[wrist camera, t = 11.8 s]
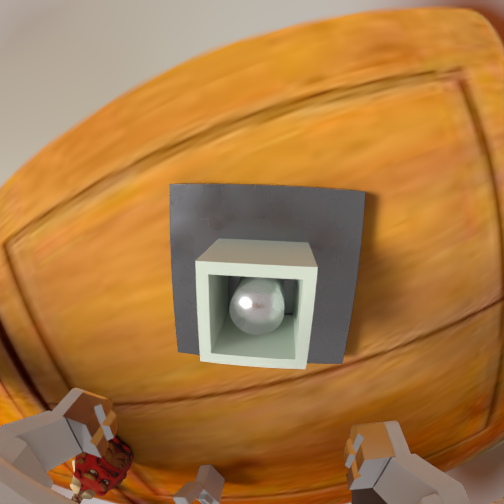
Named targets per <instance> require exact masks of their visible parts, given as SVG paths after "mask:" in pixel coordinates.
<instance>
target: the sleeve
mask: <svg viewBox="0 0 504 504" xmlns="http://www.w3.org/2000/svg"><path fill="white" fill-rule="evenodd" d="M195 267H196V295H197V316H198V334H199V349H200V361H203V362H211V363H220V364H230V365H241V366H253V367H268V368H286V369H306V365H307V358H308V350H309V343H310V335H311V327H312V319H313V310H314V301H315V291H316V281H317V270H318V267H317V264H316V261H315V258H314V256H313V253H312V250H311V248H310V245H309V243H308V242H288V241H267V240H245V239H222V238H219V239H217V240H216V241H215V242H214V243H213V244H212V245H211V246H210V247H209V248H208V249H207V250H206V251H205V252H204V253H203V254H202V255H201V256H200V257H199V258H198V259H197V260H196V261H195ZM228 276H244V277H262V278H281V279H296V288H295V301H294V313H293V315H284V317H283V320H282V322H281V323H280V325H279V326H278V327H277V328H276V329H275V330H273V331H272V332H270V333H267V334H263V335H253V334H249V333H246V332H244V331H242V330H241V329H239V328H238V327H237V326H236V325H235V324H234V322H233V321H232V319H231V316H230V312H229V311H228Z"/></svg>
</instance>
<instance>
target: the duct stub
mask: <svg viewBox="0 0 504 504" xmlns="http://www.w3.org/2000/svg"><path fill="white" fill-rule="evenodd" d="M364 205H365V191H358V190H347V189H334V188H320V187H304V186H285V185H260V184H170V244H171V268H172V285H173V300H174V313H175V325H176V336H177V346H178V352H181V353H189V354H196V355H200V349H199V334H198V316H197V295H196V267H195V261H196V260H197V259H198V258H199V257H200V256H201V255H202V254H203V253H204V252H205V251H206V250H207V249H208V248H209V247H210V246H211V245H212V244H213V243H214V242H215V241H216V240H217V239H219V238H222V239H245V240H267V241H288V242H308V243H309V245H310V248H311V250H312V253H313V256H314V258H315V261H316V264H317V267H318V270H317V281H316V291H315V301H314V310H313V319H312V327H311V335H310V343H309V350H308V358H307V363H322V364H342V362H343V357H344V353H345V348H346V342H347V337H348V332H349V326H350V321H351V315H352V309H353V302H354V296H355V289H356V282H357V275H358V267H359V258H360V250H361V240H362V230H363V218H364ZM295 288H296V279H281V278H262V277H244V276H228V311H229V312H230V316H231V319H232V321H233V322H234V324H235V325H236V326H237V327H238V328H239V329H241V330H242V331H244V332H246V333H249V334H253V335H263V334H267V333H270V332H272V331H273V330H275V329H276V328H277V327H278V326H279V325H280V323H281V322H282V320H283V317H284V315H293V313H294V301H295Z"/></svg>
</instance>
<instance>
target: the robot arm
mask: <svg viewBox="0 0 504 504" xmlns="http://www.w3.org/2000/svg"><path fill="white" fill-rule="evenodd" d="M113 407H114V406H113V403H112V400H111V399H109V398H106V397H103V396H100V395H97V394H94V393H91V392H88V391H85V390H82V389H79V388H73V389H72V390H71V391H70V392H69V393H68V394H67V395H66V396H65V397H64V398H63V399H62V401H61V402H60V403H59V404H58V405H57V406H56V407H55V408H54V409H53V411H52V412H51V411H46V412H43V413H40V414H37V415H34V416H31V417H27V418H24V419H21V420H18V421H15V422H12V423H8V424H5V425H2V426H1V427H0V504H79V503H77V502H75V501H73V500H71V499H69V498H66V497H65V496H63V495H61V494H59V493H57V492H55V491H54V490H52V489H50V488H51V487H52V485H53V484H54V483H53V480H52V479H51V477H50V476H49V475H48V473H47V471H49V470H51V469H53V468H55V467H56V466H58V465H60V464H62V463H64V462H66V461H67V460H69V459H71V458H73V457H75V456H76V455H78V454H80V453H82V451H84V452H86V453H89V454H92V455H95V456H97V457H100V458H102V456H103V455H104V453H105V451H106V450H107V448H108V447H109V444H108V440H110V439H112V438H114V437H115V435H116V433H117V430H118V426H119V425H118V418H117V415H116V414H115V413H114V412H113V411H112V408H113ZM350 435H351V438H350V439H348V440H347V441H346V444H345V449H344V463H345V466H346V467H348V468H349V471H348V473H347V482H348V488H349V490H355V489H365V488H373V489H374V490H375V491H376V492H377V493H378V494H379V495H380V496H381V497H382V499H383V500H384V501H385V502H386V503H387V504H470V502H469V499H468V497H467V495H466V492H465V490H464V487H463V485H462V484H461V483H459V482H458V481H456V480H454V479H453V478H451V477H450V476H448V475H446V474H445V473H443V472H442V471H440V470H439V469H437V468H436V467H434V466H433V465H431V464H430V463H428V462H427V461H425V460H424V459H422V458H421V457H419V456H418V455H416V454H411V453H410V450H409V448H408V445H407V443H406V440H405V438H404V435H403V433H402V430H401V428H400V425H399V423H398V422H397V421H387V422H377V423H367V424H355V425H353V426H352V428H351V430H350ZM491 504H504V497H503V498H501V499H499V500H497V501H495V502H493V503H491Z"/></svg>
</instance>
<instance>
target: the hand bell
mask: <svg viewBox="0 0 504 504" xmlns="http://www.w3.org/2000/svg"><path fill="white" fill-rule="evenodd" d="M72 466H73V468H74V471H75V460H73V461H72ZM70 487H71V489H72V490H73V491H74V495H73V497H74V496H76V495H78V492H79V489H80V487H81V482H80V481H79V480H78V479H77V478H75V477H74V476H73V480H72V482H71V485H70ZM95 494H96V493H95V492H94V491H93V490H90V489H88V490H86V491H85V492H84V493H83V494H81V495H80V496H79V500H78V501H76V502H77V503H79V504H80V503H81V501H82V499H84V498H85V499H92V498H93V496H94V495H95ZM73 497H72V499H71V500H73V501H74V499H73Z"/></svg>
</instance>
